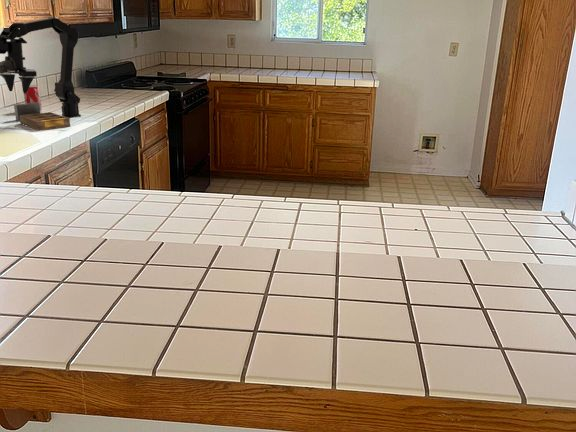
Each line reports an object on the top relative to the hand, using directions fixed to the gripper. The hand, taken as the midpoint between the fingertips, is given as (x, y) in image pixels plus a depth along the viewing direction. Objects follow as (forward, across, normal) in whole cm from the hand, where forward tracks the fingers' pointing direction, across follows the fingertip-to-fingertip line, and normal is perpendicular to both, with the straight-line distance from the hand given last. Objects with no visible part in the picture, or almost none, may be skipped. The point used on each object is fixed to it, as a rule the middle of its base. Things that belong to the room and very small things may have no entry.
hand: (17, 92), depth 240 cm
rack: (+13, +12, +4) cm, 18 cm away
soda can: (+12, -20, +22) cm, 32 cm away
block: (+13, -5, +8) cm, 16 cm away
